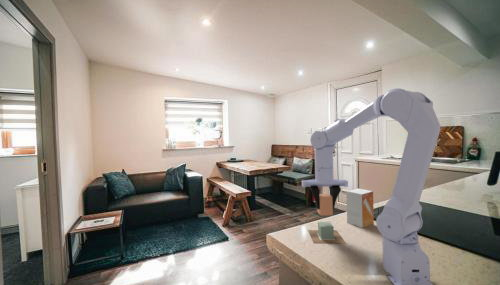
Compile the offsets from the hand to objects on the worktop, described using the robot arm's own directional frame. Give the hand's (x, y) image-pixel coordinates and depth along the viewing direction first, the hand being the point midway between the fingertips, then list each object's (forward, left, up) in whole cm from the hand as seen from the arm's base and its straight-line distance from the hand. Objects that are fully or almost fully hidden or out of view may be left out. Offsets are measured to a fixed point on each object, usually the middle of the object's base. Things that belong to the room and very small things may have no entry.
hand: (325, 208), depth 71 cm
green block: (0, 0, -9) cm, 9 cm away
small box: (+12, -16, -10) cm, 23 cm away
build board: (0, 0, -10) cm, 10 cm away
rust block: (0, 0, -2) cm, 2 cm away
